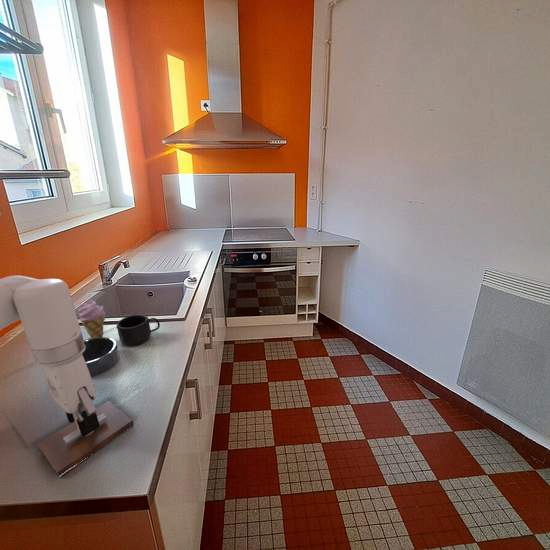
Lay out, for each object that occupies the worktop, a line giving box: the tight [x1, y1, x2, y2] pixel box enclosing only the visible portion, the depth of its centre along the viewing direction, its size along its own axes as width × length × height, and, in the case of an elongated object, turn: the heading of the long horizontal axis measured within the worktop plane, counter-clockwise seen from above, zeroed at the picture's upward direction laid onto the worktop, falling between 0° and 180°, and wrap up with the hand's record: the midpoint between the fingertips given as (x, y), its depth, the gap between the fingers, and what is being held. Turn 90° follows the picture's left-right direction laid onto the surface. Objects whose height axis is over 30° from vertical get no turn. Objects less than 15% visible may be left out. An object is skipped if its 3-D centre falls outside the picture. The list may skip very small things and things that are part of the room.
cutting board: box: [36, 400, 135, 476], centre depth 61 cm, size 14×10×2 cm
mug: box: [116, 314, 161, 347], centre depth 95 cm, size 12×9×7 cm
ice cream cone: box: [77, 299, 107, 339], centre depth 91 cm, size 7×6×15 cm
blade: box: [63, 401, 107, 444], centre depth 60 cm, size 8×3×8 cm, turn 144°
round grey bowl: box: [82, 336, 120, 378], centre depth 83 cm, size 13×13×5 cm
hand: (84, 423), depth 60 cm, fingers open, 4 cm apart
